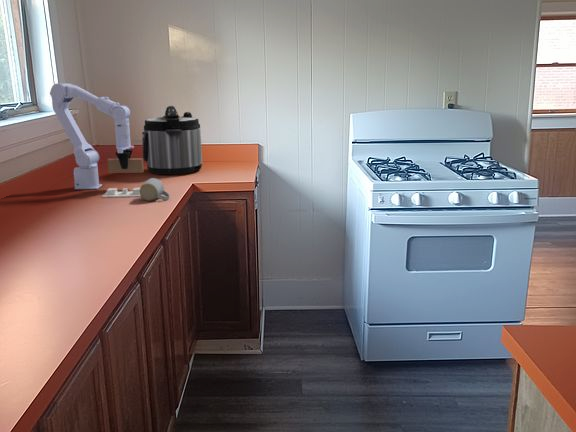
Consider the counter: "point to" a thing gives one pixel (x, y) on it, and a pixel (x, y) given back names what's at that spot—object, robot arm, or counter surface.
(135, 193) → the display stand
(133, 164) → the frame bar
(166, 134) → the pressure cooker
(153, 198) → the ceramic mug
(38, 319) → the counter surface
